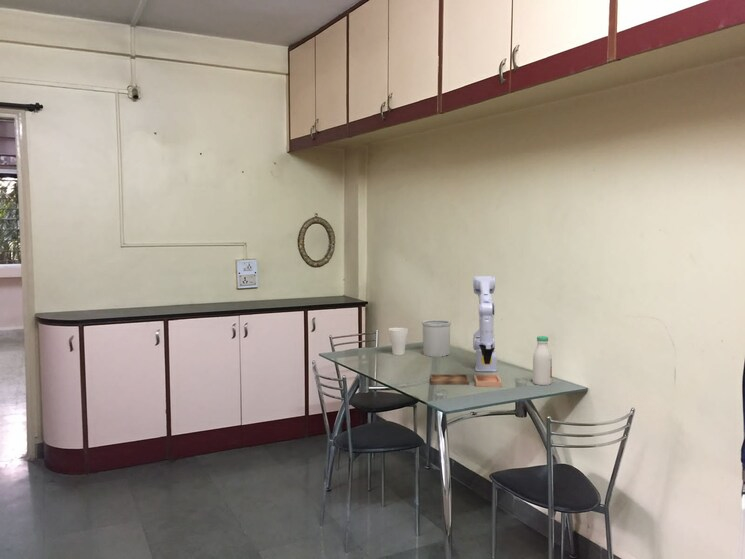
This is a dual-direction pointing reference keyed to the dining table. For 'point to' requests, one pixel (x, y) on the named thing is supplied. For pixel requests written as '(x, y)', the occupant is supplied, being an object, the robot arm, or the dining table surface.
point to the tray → (449, 379)
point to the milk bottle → (542, 362)
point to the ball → (483, 361)
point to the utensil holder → (436, 337)
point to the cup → (398, 339)
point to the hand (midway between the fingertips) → (486, 362)
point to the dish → (487, 381)
